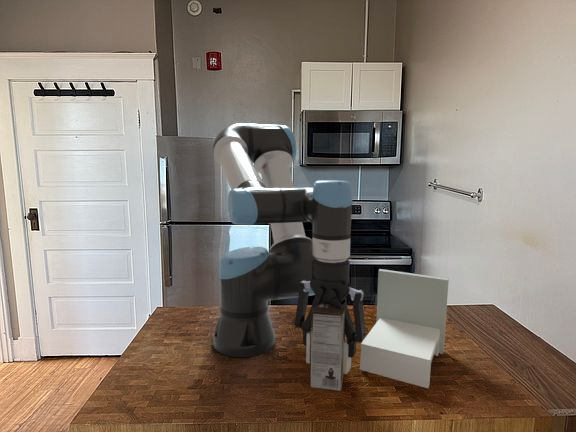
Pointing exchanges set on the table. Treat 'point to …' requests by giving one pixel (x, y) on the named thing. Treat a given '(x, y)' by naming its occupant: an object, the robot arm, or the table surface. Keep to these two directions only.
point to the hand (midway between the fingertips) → (328, 365)
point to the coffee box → (327, 346)
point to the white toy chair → (406, 327)
